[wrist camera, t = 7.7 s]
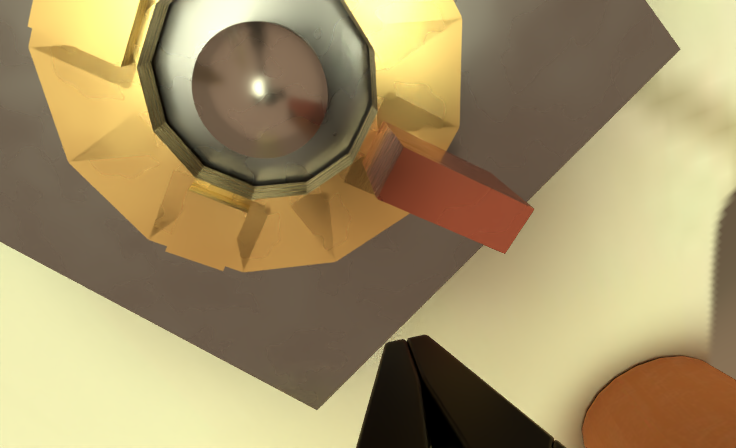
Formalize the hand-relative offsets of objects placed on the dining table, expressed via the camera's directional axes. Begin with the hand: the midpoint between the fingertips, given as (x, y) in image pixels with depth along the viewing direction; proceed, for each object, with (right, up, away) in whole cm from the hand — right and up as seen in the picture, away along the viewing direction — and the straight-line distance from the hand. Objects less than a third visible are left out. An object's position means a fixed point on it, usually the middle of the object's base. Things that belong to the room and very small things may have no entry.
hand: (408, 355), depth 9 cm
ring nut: (-3, +7, +7) cm, 10 cm away
